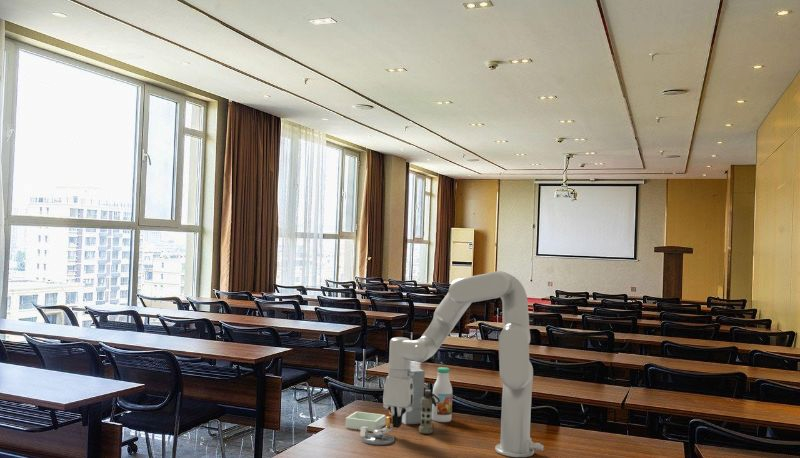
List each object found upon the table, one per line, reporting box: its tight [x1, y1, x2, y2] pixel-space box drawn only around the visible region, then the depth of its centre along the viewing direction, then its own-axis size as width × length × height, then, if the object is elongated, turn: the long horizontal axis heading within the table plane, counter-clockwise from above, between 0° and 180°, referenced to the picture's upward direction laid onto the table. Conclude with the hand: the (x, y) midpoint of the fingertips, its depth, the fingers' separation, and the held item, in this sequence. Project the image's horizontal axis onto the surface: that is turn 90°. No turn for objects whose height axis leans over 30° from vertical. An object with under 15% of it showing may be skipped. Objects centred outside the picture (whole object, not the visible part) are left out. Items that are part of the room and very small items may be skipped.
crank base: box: [359, 426, 395, 446], centre depth 225 cm, size 12×11×4 cm
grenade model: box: [418, 389, 440, 435], centre depth 239 cm, size 6×7×15 cm
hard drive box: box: [388, 364, 426, 426], centre depth 256 cm, size 16×8×20 cm, turn 25°
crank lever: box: [372, 415, 393, 438], centre depth 228 cm, size 10×3×5 cm, turn 153°
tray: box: [344, 411, 386, 433], centre depth 243 cm, size 12×11×4 cm
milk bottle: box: [432, 366, 453, 423], centre depth 257 cm, size 8×8×20 cm
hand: (396, 426), depth 231 cm, fingers closed
